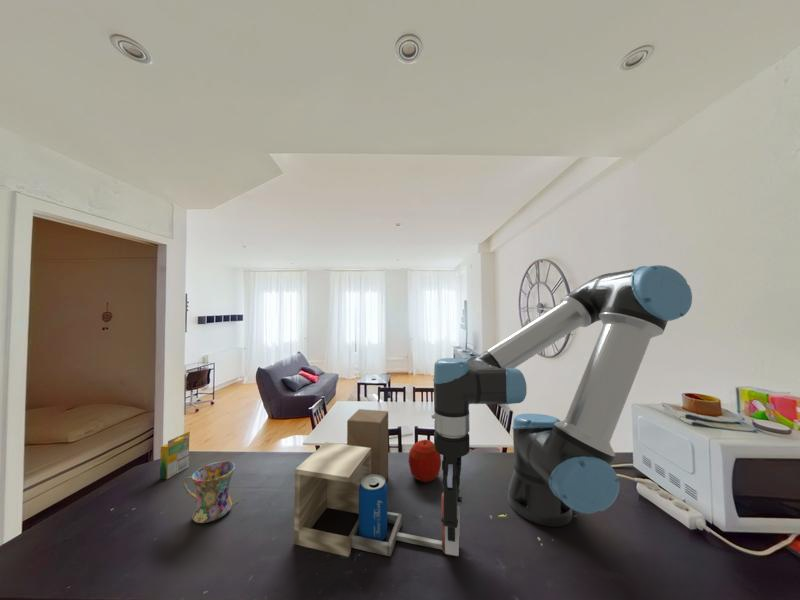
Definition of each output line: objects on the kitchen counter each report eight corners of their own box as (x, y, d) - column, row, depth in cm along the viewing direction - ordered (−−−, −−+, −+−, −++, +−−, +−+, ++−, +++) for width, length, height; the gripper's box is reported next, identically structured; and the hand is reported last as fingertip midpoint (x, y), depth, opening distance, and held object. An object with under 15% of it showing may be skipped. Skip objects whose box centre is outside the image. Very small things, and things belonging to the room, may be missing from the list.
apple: (419, 465, 93) (419, 430, 93) (447, 475, 87) (447, 437, 87) (402, 480, 85) (402, 441, 85) (431, 492, 79) (431, 450, 79)
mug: (241, 500, 75) (242, 460, 76) (221, 526, 66) (222, 480, 67) (194, 502, 75) (196, 461, 75) (168, 529, 65) (170, 482, 66)
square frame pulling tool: (458, 533, 64) (457, 483, 64) (456, 571, 54) (455, 512, 55) (364, 515, 69) (364, 470, 70) (347, 546, 60) (348, 494, 60)
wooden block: (380, 496, 77) (380, 422, 78) (346, 491, 79) (346, 420, 80) (388, 475, 87) (388, 410, 88) (358, 472, 89) (358, 408, 90)
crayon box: (181, 466, 93) (183, 430, 93) (189, 467, 92) (190, 431, 93) (158, 478, 85) (160, 440, 86) (166, 480, 85) (168, 441, 85)
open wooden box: (370, 512, 71) (371, 447, 72) (348, 556, 58) (348, 477, 59) (324, 503, 74) (325, 442, 75) (293, 544, 61) (295, 469, 62)
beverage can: (363, 551, 59) (363, 493, 60) (355, 530, 65) (355, 477, 66) (391, 541, 62) (391, 485, 62) (381, 521, 68) (381, 470, 68)
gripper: (438, 415, 70) (439, 512, 69) (428, 447, 53) (429, 576, 52) (469, 418, 68) (470, 517, 67) (469, 452, 51) (470, 586, 50)
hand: (452, 543), depth 59 cm, fingers open, 4 cm apart
